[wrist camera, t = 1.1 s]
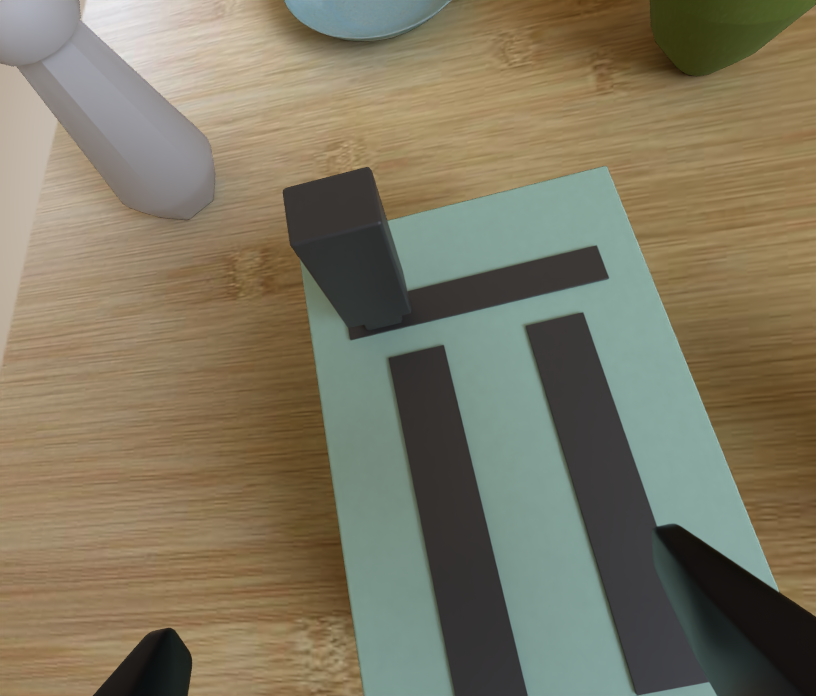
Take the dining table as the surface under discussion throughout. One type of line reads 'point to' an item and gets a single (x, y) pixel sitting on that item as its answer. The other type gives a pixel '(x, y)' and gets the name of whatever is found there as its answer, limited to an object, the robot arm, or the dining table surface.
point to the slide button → (348, 247)
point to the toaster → (520, 456)
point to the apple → (719, 29)
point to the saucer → (364, 16)
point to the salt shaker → (109, 109)
